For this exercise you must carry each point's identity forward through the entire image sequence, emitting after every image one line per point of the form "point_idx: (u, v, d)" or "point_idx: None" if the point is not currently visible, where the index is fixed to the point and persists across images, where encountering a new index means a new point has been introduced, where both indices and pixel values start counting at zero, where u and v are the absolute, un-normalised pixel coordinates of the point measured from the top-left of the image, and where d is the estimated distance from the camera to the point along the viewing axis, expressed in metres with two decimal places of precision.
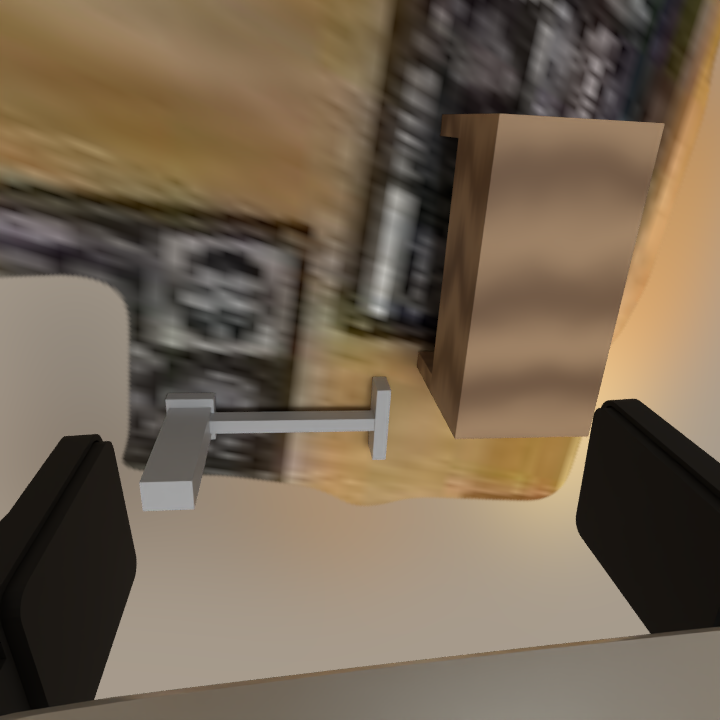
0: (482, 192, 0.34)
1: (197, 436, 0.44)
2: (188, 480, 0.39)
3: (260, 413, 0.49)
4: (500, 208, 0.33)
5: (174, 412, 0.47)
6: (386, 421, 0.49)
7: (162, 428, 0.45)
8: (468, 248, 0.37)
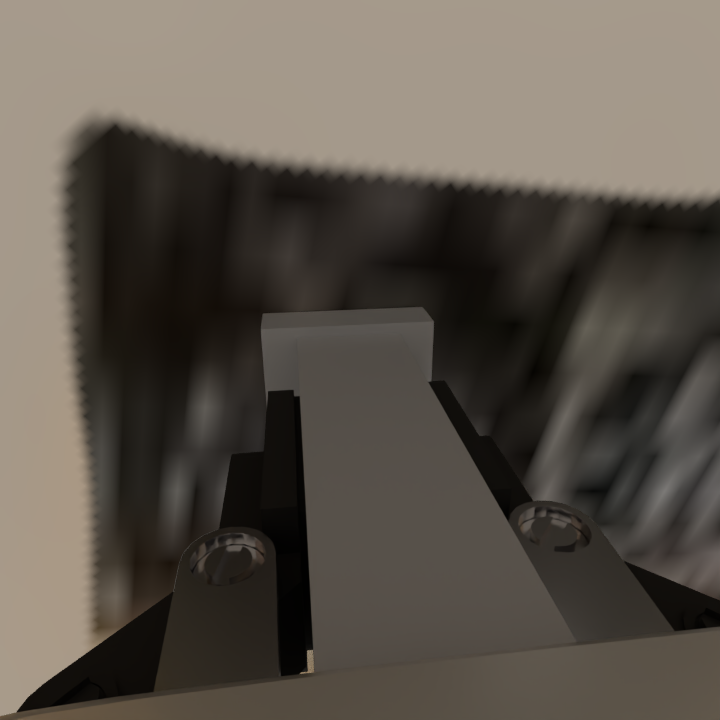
0: None
1: None
2: None
3: None
4: None
5: None
6: None
7: None
8: None
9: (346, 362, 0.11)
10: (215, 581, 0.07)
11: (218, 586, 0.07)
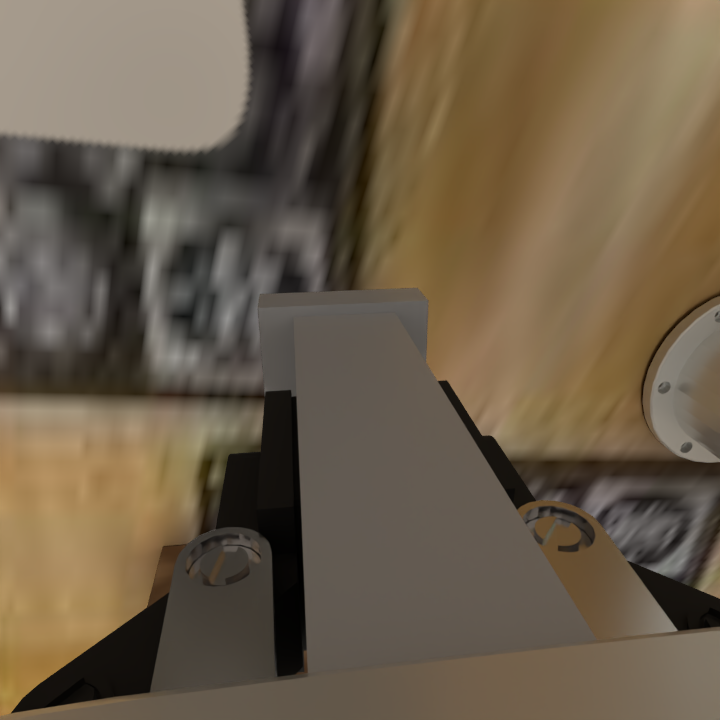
0: None
1: None
2: None
3: None
4: None
5: None
6: None
7: None
8: None
9: (341, 337, 0.12)
10: (211, 582, 0.07)
11: (214, 586, 0.07)
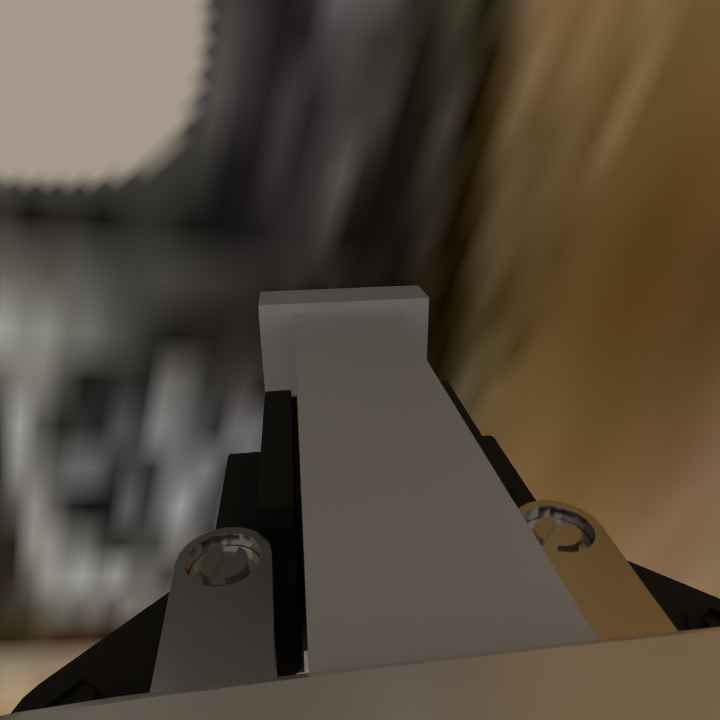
0: None
1: None
2: None
3: None
4: None
5: None
6: None
7: None
8: None
9: (342, 335, 0.12)
10: (211, 582, 0.07)
11: (214, 587, 0.07)
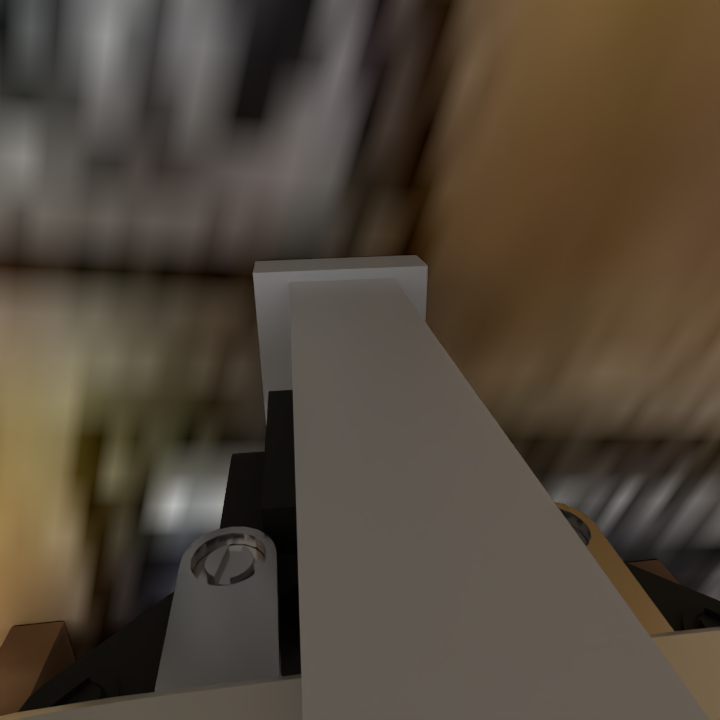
0: None
1: None
2: None
3: None
4: None
5: None
6: None
7: None
8: None
9: (338, 300, 0.11)
10: (216, 581, 0.07)
11: (219, 586, 0.07)
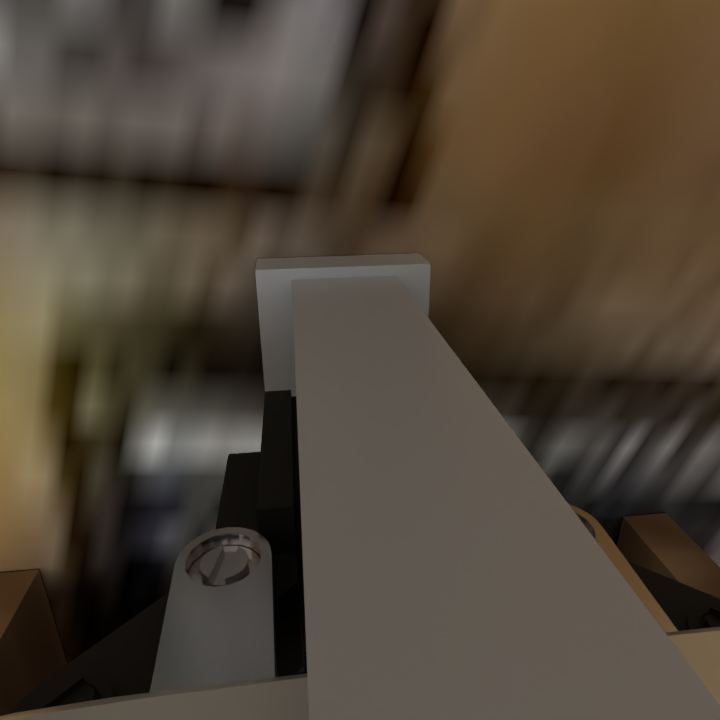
0: None
1: None
2: None
3: None
4: None
5: None
6: None
7: None
8: None
9: (341, 297, 0.11)
10: (211, 581, 0.07)
11: (214, 586, 0.07)
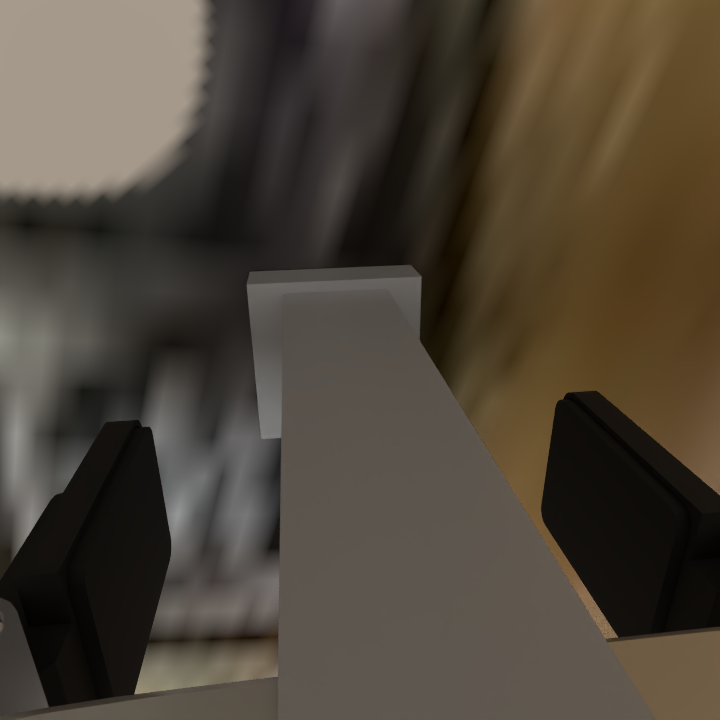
0: None
1: None
2: None
3: None
4: None
5: None
6: None
7: None
8: None
9: (331, 313, 0.11)
10: None
11: None
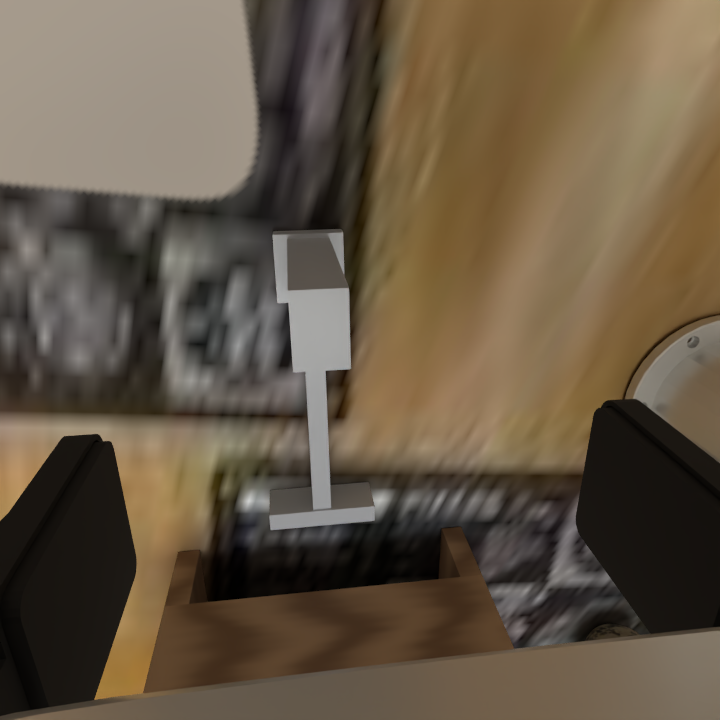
0: None
1: None
2: (350, 363, 0.23)
3: None
4: None
5: None
6: (330, 522, 0.38)
7: None
8: (375, 651, 0.33)
9: (305, 243, 0.30)
10: None
11: None
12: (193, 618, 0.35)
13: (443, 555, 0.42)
